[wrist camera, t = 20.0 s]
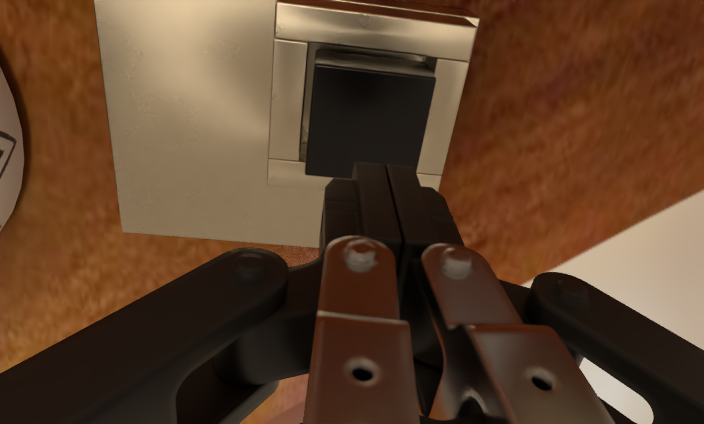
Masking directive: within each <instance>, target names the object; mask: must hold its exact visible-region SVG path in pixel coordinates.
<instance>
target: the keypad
mask: <svg viewBox="0 0 704 424" xmlns="http://www.w3.org/2000/svg"><path fill="white" fill-rule="evenodd" d="M93 2H94V10H95V18H96V26H97V34H98V42H99V50H100V58H101V66H102V74H103V82H104V90H105V98H106V107H107V115H108V123H109V131H110V139H111V147H112V155H113V163H114V171H115V179H116V187H117V195H118V203H119V212H120V220H121V228H122V232H127V233H139V234H152V235H164V236H177V237H189V238H201V239H214V240H226V241H238V242H251V243H263V244H275V245H288V246H300V247H312V248H319V236H320V227H321V219H322V210H323V202H324V193H325V187H326V186H327V185H328V184H329V182H330V181H331V180H332V179H333V178H330V177H319V176H309V175H305V162H306V150H307V139H308V128H309V117H310V106H311V95H312V83H313V72H314V61H315V51H316V50H317V49H320V50H329V51H337V52H345V53H353V54H362V55H370V56H378V57H386V58H395V59H403V60H411V61H419V62H425V63H427V65H428V66H429V68H430V69H431V71H432V72H433V74H434V76H435V77H436V84H435V89H434V93H433V98H432V103H431V107H430V112H429V117H428V121H427V126H426V131H425V135H424V140H423V145H422V149H421V154H420V159H419V163H418V168H417V173H416V174H417V177H418V180H419V182H420V185H421V186H424V187H432V188H434V189H435V190H436V191H437V192H438V190H439V185H440V181H441V177H442V173H443V169H444V165H445V161H446V157H447V153H448V148H449V144H450V140H451V136H452V132H453V128H454V124H455V120H456V116H457V112H458V108H459V103H460V99H461V95H462V91H463V87H464V83H465V79H466V75H467V71H468V67H469V62H470V58H471V54H472V50H473V46H474V42H475V38H476V34H477V30H478V25H479V21H480V18H479V17H478V16H476V15H475V14H473V13H472V12H470V11H469V10H462V9H455V8H447V7H440V6H432V5H425V4H417V3H410V2H402V1H395V0H93ZM338 179H340V178H338ZM348 180H351V179H348Z"/></svg>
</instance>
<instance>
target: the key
mask: <svg viewBox="0 0 704 424" xmlns="http://www.w3.org/2000/svg"><path fill="white" fill-rule="evenodd" d="M435 84H436V77H435V76H434V74H433V72H432V71H431V69H430V68H429V66H428V65H427V63H425V62H419V61H411V60H403V59H395V58H386V57H378V56H370V55H362V54H353V53H345V52H337V51H329V50H320V49H317V50H316V51H315V61H314V72H313V83H312V95H311V106H310V117H309V128H308V139H307V150H306V162H305V175H309V176H319V177H330V178H340V179H352V173H353V167H354V163H355V161H358V162H368V163H378V164H384V165H385V164H389V165H399V166H410V167H414V168H415V171H416V173H417V168H418V163H419V159H420V154H421V149H422V145H423V140H424V135H425V131H426V126H427V121H428V117H429V112H430V107H431V103H432V98H433V93H434V89H435Z"/></svg>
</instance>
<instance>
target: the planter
mask: <svg viewBox="0 0 704 424" xmlns="http://www.w3.org/2000/svg"><path fill="white" fill-rule="evenodd" d="M23 167H24V150H23V138H22V129H21V125H20V121H19V117H18V113H17V110H16V106H15V102H14V98H13V95H12V93H11V91H10V88H9V86H8V84H7V81H6V79H5V77H4V74H3V72H2V69H1V67H0V231H1V230H2V228H3V226H4V225H5V223H6V222H7V220H8V218H9V217H10V215H11V214H12V212H13V210H14V207H15V204H16V201H17V198H18V195H19V192H20V189H21V185H22V176H23Z"/></svg>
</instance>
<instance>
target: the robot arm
mask: <svg viewBox="0 0 704 424" xmlns="http://www.w3.org/2000/svg"><path fill="white" fill-rule="evenodd" d="M584 357H585V358H587V359H588V360H589V361H591V362H592V363H594V364H595V365H597V366H598V367H600V368H601V369H602V370H604V371H605V372H607V373H608V374H610V375H611V376H613V377H614V378H616V379H617V380H619V381H620V382H622V383H623V384H625V385H626V386H627V387H629V388H631V389H632V390H633V391H635V392H636V393H638V394H639V395H641V396H642V397H643V398H644V399H645V400H646V401H647V402H648V403H649V405H650V407H651V408H652V411H653V415H654V420H653V423H652V424H704V350H702V349H700V348H699V347H697V346H695V345H693V344H692V343H690V342H688V341H686V340H685V339H683V338H681V337H679V336H678V335H676V334H674V333H673V332H671V331H669V330H668V329H666V328H664V327H662V326H660V325H659V324H657V323H655V322H654V321H652V320H650V319H649V318H647V317H645V316H643V315H642V314H640V313H638V312H636V311H635V310H633V309H631V308H630V307H628V306H626V305H625V304H623V303H621V302H619V301H618V300H616V299H614V298H612V297H611V296H609V295H607V294H605V293H604V292H602V291H600V290H599V289H597V288H595V287H594V286H592V285H590V284H588V283H587V282H585V281H583V280H581V279H578V278H576V277H574V276H571V275H568V274H563V273H558V272H546V273H542V274H539V275H538V276H536V277H535V279H534V280H533V283H532V285H531V288H527V287H523V286H520V285H516V284H512V283H509V282H505V281H502V280H499V279H497V277H496V275H495V274H494V272H493V270H492V268H491V267H490V265H489V263H488V262H487V261H486V260H485V258H484V257H482V256H481V255H480V254H479V253H477V252H475V251H474V250H472V249H469V248H467V247H465V246H464V243H463V241H462V239H461V236H460V234H459V231H458V229H457V227H456V224H455V222H454V221H453V217H452V215H451V212H449V208H448V205H447V203H446V201H445V198H444V197H443V196H442V195H440V194H439V193H438V192H437V191H436V190H435V189H434V188H432V187H424V186H421V185H420V182H419V180H418V177H417V174H416V171H415V168H414V167H410V166H399V165H389V164H385V165H384V164H378V163H368V162H358V161H355V163H354V167H353V173H352V179H351V180H348V179H338V178H333V179H332V180H331V181H330V182H329V184H328V185H327V186H326V187H325V193H324V202H323V210H322V219H321V227H320V236H319V257H318V258H317V259H315V260H314V261H311V262H309V263H307V264H303V265H299V266H293V267H288V266H287V263H286V262H285V261H284V260H283V259H282V258H281V257H280V256H279V255H277V254H275V253H273V252H271V251H268V250H265V249H260V248H239V249H234V250H231V251H228V252H226V253H224V254H222V255H220V256H218V257H216V258H214V259H212V260H210V261H209V262H207V263H205V264H203V265H201V266H199V267H197V268H196V269H194V270H192V271H190V272H188V273H186V274H184V275H183V276H181V277H179V278H177V279H175V280H173V281H171V282H170V283H168V284H166V285H164V286H162V287H160V288H158V289H157V290H155V291H153V292H151V293H149V294H147V295H145V296H144V297H142V298H140V299H138V300H136V301H134V302H132V303H131V304H129V305H127V306H125V307H123V308H121V309H119V310H118V311H116V312H114V313H112V314H110V315H108V316H106V317H105V318H103V319H101V320H99V321H97V322H95V323H93V324H92V325H90V326H88V327H86V328H84V329H82V330H80V331H79V332H77V333H75V334H73V335H71V336H69V337H67V338H66V339H64V340H62V341H60V342H58V343H56V344H54V345H52V346H51V347H49V348H47V349H45V350H43V351H41V352H39V353H38V354H36V355H34V356H32V357H30V358H28V359H26V360H25V361H23V362H21V363H19V364H17V365H15V366H13V367H12V368H10V369H8V370H6V371H4V372H2V373H0V424H239V423H240V422H241V421H242V420H244V419H245V418H246V417H247V416H248V415H249V414H250V413H251V412H253V411H254V410H255V409H256V408H257V407H258V406H259V405H260V404H261V403H263V402H264V401H265V400H266V399H267V398H268V397H269V396H270V395H271V394H272V393H273V392H274V391H275V390H276V388H277V387H278V384H279V381H280V380H282V379H286V378H290V377H294V376H299V375H303V374H307V373H309V379H308V387H307V394H306V402H305V411H304V418H303V423H300V424H637V423H635V422H633V421H631V420H630V419H629V418H627V417H626V416H624V415H623V414H622V413H620V412H619V411H617V410H616V409H615V408H613V407H612V406H610V405H609V404H608V403H606V402H605V401H604V400H602V399H601V398H599V397H598V396H597V394H596V393H595V391H594V390H593V388H592V387H591V385H590V384H589V382H588V381H587V379H586V377H585V376H584V374H583V373H582V371H581V370H580V369H579V366H580V364H581V362H582V360H583V358H584Z"/></svg>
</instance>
